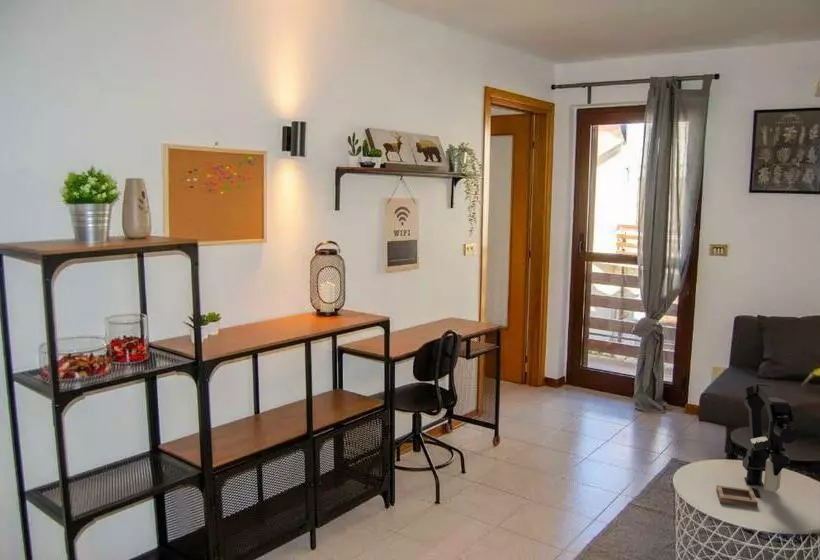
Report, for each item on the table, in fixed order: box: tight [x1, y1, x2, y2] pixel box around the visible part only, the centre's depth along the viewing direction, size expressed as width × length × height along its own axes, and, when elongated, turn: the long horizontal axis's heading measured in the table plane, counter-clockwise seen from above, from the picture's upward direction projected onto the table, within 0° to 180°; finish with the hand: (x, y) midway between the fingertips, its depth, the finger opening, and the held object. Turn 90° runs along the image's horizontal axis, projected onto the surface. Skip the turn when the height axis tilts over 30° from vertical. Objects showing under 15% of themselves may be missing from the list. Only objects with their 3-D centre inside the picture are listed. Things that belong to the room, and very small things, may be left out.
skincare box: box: [762, 458, 782, 493], centre depth 253 cm, size 6×4×12 cm
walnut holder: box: [715, 484, 759, 509], centre depth 257 cm, size 11×13×2 cm
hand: (773, 471), depth 253 cm, fingers closed on skincare box, 7 cm apart
